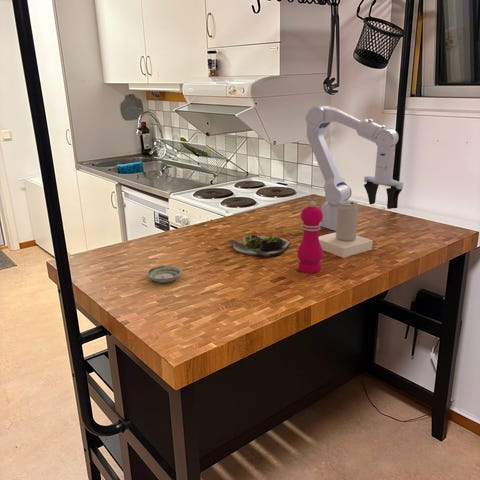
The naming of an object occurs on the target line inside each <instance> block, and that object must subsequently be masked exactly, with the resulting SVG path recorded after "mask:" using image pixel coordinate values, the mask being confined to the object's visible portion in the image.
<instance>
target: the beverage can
mask: <svg viewBox="0 0 480 480" xmlns="http://www.w3.org/2000/svg"><path fill="white" fill-rule="evenodd" d="M358 213H359V206H358V202H357V201H353V200H348V201H340V202H339V205H338V206H337V223H336V231H335V232H336V237H337V238H338V239H339V240H341V241H352V240H354V239H355V238H356V235H357V230H358V217H359V215H358Z"/></svg>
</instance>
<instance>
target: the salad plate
mask: <svg viewBox="0 0 480 480" xmlns="http://www.w3.org/2000/svg"><path fill="white" fill-rule="evenodd" d="M227 242H228V243H229V244H231V245H232V246H233V249H234V250H235V251H237V252H238V253H240V254H243V255H251V256H255V257H262V258H273V257H278V256H280V255H282V254H284V253H285V252H286V251H287V250H288V249H289V246H290V244H291V243H290V241H289V240H287V239H285V238H282V237H279V236H278V237H277V236H271V235H270V236H262V235H258V234H257V235H254V234H249V235H247V236H242V238H241V239H240V240H239V241H236V240H233V239H229V240H228V241H227Z"/></svg>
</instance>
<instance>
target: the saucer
mask: <svg viewBox="0 0 480 480" xmlns="http://www.w3.org/2000/svg"><path fill="white" fill-rule="evenodd" d="M182 274H183V270H182V269H181V268H180V267H179V266H178V267H177V266H176V265H175V266H174V265H157V266H154V267H151V268H149V269H148V270H147V271H146V272H145V276H146V277H147V278H148V279H150V280H152V281H153V282H156V283H160V284H167V283H172V282H173V281H174V280H177V279H178V278H179V277H180V276H181V275H182Z"/></svg>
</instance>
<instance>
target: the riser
mask: <svg viewBox="0 0 480 480" xmlns="http://www.w3.org/2000/svg"><path fill="white" fill-rule="evenodd" d="M318 237H319V242H320V245H321V247H322V250H323V252H324V251H325V252H327V253H330V254H332V255H335V256H337V257H340V258H343V259H344V258H348V257H351V256H355V255H358V254H361V253H364V252H368V251H371V250H372V249H373V240H372V239H369V238H366V237H363V236H361V235H357V234H356V238H355V239H354V240H352V241H341V240H339V239H338V238H337V237H336V231H335V232H331V233H328V234H327V233H326V234H323V235H320V236H319V235H318Z"/></svg>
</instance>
